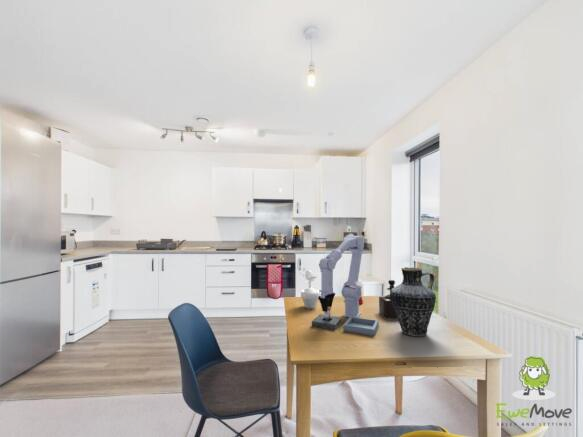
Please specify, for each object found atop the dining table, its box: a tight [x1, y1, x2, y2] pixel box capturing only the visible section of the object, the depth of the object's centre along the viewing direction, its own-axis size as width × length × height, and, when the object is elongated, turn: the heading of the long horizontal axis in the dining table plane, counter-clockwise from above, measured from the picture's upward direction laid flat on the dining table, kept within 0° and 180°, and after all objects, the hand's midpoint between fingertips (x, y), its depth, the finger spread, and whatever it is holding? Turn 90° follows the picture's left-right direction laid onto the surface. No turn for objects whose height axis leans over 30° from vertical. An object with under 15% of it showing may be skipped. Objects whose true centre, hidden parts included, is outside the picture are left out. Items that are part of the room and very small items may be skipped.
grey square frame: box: [311, 313, 343, 331], centre depth 147 cm, size 12×12×2 cm
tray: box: [343, 316, 380, 337], centre depth 141 cm, size 14×14×3 cm
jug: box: [389, 266, 437, 337], centre depth 136 cm, size 21×19×30 cm
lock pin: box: [323, 306, 332, 321], centre depth 147 cm, size 4×4×9 cm
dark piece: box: [378, 279, 398, 319], centre depth 164 cm, size 16×11×18 cm
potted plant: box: [299, 268, 321, 309], centre depth 176 cm, size 13×12×25 cm
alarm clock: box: [358, 296, 364, 306], centre depth 188 cm, size 10×6×15 cm
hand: (327, 309), depth 147 cm, fingers open, 7 cm apart
